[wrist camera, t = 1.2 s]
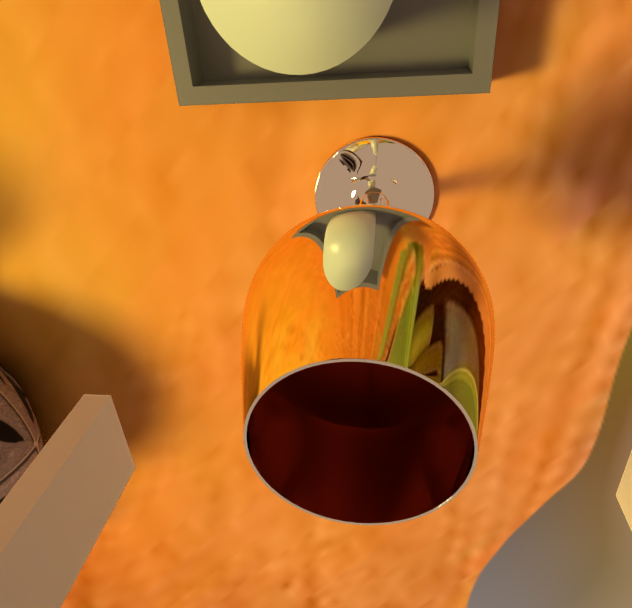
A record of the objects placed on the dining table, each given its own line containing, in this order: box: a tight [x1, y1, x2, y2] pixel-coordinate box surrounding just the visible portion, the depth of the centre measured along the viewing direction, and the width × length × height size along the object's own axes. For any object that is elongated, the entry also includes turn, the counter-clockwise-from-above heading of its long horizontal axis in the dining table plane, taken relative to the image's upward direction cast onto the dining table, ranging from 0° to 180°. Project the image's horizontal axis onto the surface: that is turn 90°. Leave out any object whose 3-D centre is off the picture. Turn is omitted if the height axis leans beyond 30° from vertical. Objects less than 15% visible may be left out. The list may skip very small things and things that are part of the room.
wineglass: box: [241, 137, 495, 525], centre depth 20 cm, size 8×8×18 cm
